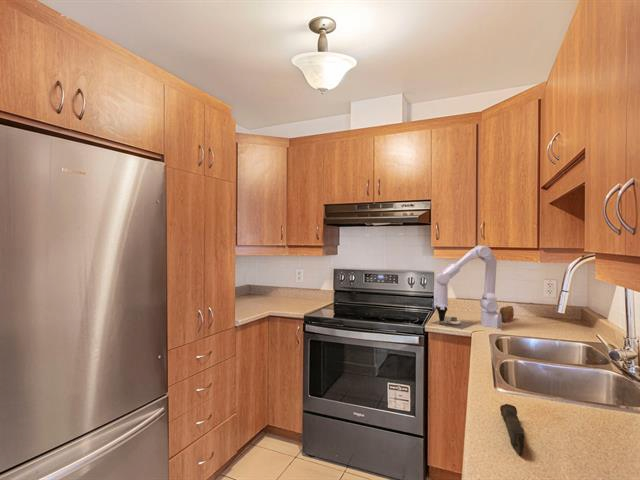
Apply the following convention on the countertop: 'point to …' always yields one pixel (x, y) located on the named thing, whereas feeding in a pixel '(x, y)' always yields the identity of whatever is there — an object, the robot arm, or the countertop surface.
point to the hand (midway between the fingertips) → (441, 320)
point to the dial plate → (459, 326)
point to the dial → (451, 320)
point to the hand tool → (513, 427)
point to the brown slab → (507, 313)
